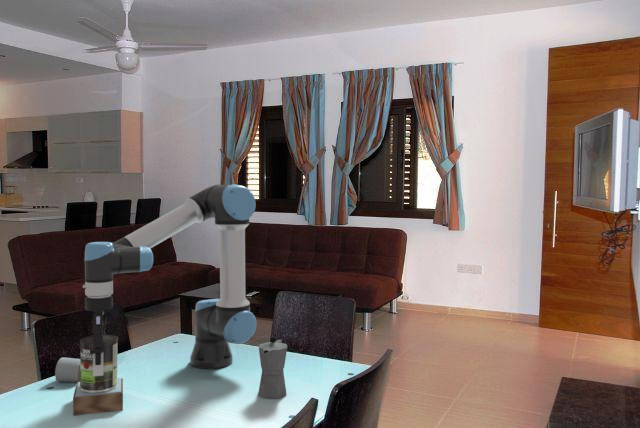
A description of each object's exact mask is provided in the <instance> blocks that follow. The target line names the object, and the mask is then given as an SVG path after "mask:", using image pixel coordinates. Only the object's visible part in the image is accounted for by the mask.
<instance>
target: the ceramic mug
mask: <svg viewBox="0 0 640 428" xmlns="http://www.w3.org/2000/svg"><path fill="white" fill-rule="evenodd" d="M54 377H55V380H56V382H58V383H59V382H60V383H77V382H80V358H73V357H60V358H59V359H58V361H57V363H56V366H55V370H54Z"/></svg>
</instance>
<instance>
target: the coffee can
mask: <svg viewBox="0 0 640 428" xmlns="http://www.w3.org/2000/svg"><path fill="white" fill-rule="evenodd" d="M118 341H119V337H118V336H116V335H111V334H104V335H103V376H93V354H90V351H92V350H93V335H89V336H86V337H85V336H84V337H83V338H81V339H79V344H80V345H79V346H80V349H79V350H80V351H79V352H80V358H79V359H80V390H81V391H83V392H87V393H100V392H106V391H110V390H112V389H114V388H116V387H117V385H118V384H117V378H118V345H119V344H118Z"/></svg>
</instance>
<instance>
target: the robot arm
mask: <svg viewBox="0 0 640 428" xmlns="http://www.w3.org/2000/svg"><path fill="white" fill-rule="evenodd" d="M256 203H257V202H256V199H255V195H254V193H253V192H252V191H251V190H250V189H249V188H248V187H246V186H244V185H240V184H235V183H234V184H213V185H211V186H208V187H206V188H204V189H202V190H201V191H198V192H197V193H195V194H193V195H191V196H190V197H188V198H186V199H185V201H184V203H183V204H181V205H179V206H177V207H176V208H174V209H172V210H171V211H170V210H169V212H167V213H165V214H163V215H162V216H160V217H158V218H156V219H154V220H153V221H151V222H149V223H147V224H145V225H143V226H142V227H140V228H138V229H136V230H133V232H131V233H129V234H127V235H125V236H124V237H122V238H120V239H117V240H116V241H114V242H110V241H94V242H93V241H92V242H88V243H87V244H85V249H84V258H83V261H84V284H83V285H82V288H83V289H84V293H85V294H84V295H85V298H84V309H85V311H88V312H94V313H93V314H92V315H91V319H90V321H91V331H92V332H93V335H92V336H93V350H92V351H90V354H93V376H103V335H106V332H105V331H106V325H107V324H106V323H107V314H105V311H109V310H112V309H113V307H114V302H113V301H114V298H113V294H114V275H118V274H124V273H125V274H126V273H142V272H147V271H149V270H151V269H152V267H153V264H154V253H153V251H152V248H154V247H155V246H157V245H159V244H160V243H163V242H164V241H166V240H167V239H169V238H171V237H173V236H174V235H177V234H178V233H180V232H181V231H183V230H185V229H187V228H188V227H191V226H192V225H194V224H195V223H198V224H200V223H201V224H202V222H204V221H206V220H210V219H214V225H215V227H217V228H218V230H219V281H220V282H219V286H220V287H219V291H220V293H219V295H220V298H211V299H202V300H199V301H197V302H196V303H195V309H194V313H195V316H194V317H195V321H194V322H195V327H194V328H195V330H194V331H195V332H194V334H195V337H194V338H195V340H194V345H193V348H192V351H191V353H190V354H191V355H190V361H189V363H190V365H191V366H192V367H194V368H198V369H207V370H208V369H220V368H224V367H227V366H230V365H231V364H232V363H233V353H232V350H231V346H230V344H235V345H241V344H244V343H247V342H248V341H249V340H250V339H251V338H252V337H253V336H254V334H255V333H256V330H257V325H258V324H257V318H256V316H255V314H254V313H253V312H251V302H250V300H248V299H247V298H246V228H247V227H248V226H249V225H250V218H252V216H253V214H254V213H255V211H256Z"/></svg>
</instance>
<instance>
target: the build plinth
mask: <svg viewBox="0 0 640 428" xmlns="http://www.w3.org/2000/svg"><path fill="white" fill-rule="evenodd" d="M75 383H76V385H75V389H74V393H73V397H72V416H81V415H91V414H101V413H103V414H104V413H111V412H119V411H124V379H123V378H122V377H119V378H118V377H117V384H118V385H117V387H116V388H114V389H112V390H110V391H106V392H100V393H87V392H83V391H81V390H80V382H75Z"/></svg>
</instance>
